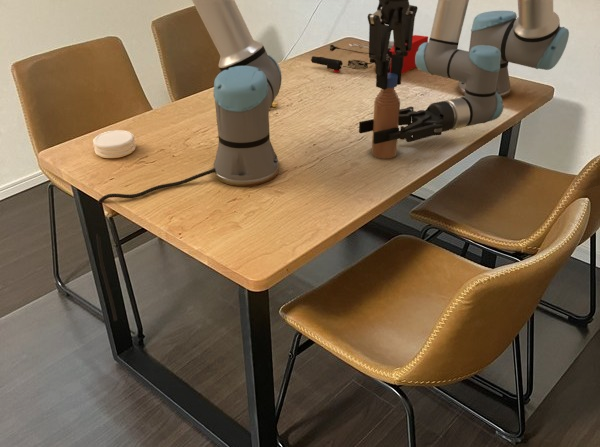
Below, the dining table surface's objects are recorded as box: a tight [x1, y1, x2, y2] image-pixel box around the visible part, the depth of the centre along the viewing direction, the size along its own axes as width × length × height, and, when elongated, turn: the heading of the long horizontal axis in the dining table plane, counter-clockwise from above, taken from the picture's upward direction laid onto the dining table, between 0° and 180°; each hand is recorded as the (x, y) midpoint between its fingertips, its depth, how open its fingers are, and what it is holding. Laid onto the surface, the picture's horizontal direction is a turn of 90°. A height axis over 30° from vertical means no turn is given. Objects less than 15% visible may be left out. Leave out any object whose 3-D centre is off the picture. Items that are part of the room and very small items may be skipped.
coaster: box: [92, 129, 137, 159], centre depth 155 cm, size 10×10×4 cm
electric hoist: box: [310, 34, 429, 75], centre depth 208 cm, size 10×27×30 cm
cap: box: [387, 73, 398, 89], centre depth 143 cm, size 4×4×2 cm
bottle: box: [371, 87, 401, 160], centre depth 148 cm, size 6×6×19 cm
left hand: (388, 85), depth 144 cm, fingers closed on cap, 4 cm apart
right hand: (367, 132), depth 148 cm, fingers closed on bottle, 6 cm apart
